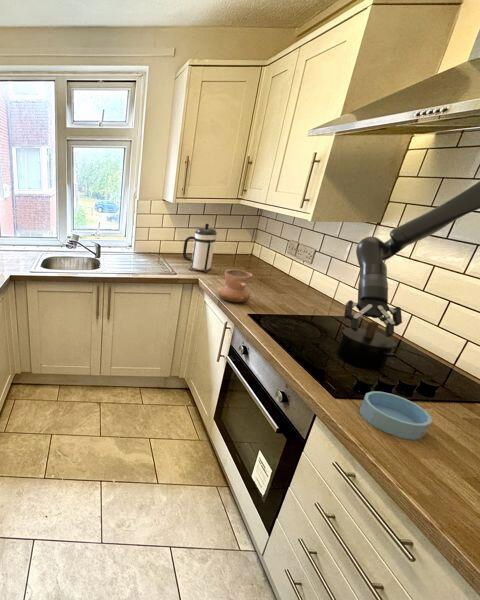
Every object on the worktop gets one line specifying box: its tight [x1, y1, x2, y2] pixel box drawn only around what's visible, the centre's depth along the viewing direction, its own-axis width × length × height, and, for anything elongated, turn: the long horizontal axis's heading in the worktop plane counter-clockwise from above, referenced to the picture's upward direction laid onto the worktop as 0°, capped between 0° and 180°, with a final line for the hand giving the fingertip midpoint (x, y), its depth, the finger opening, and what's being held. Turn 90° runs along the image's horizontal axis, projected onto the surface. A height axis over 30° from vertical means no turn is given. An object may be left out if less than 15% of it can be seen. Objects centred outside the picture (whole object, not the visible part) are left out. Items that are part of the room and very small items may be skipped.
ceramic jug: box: [218, 268, 253, 304], centre depth 157 cm, size 18×14×14 cm
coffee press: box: [182, 223, 219, 274], centre depth 201 cm, size 17×16×30 cm
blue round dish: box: [359, 390, 433, 441], centre depth 81 cm, size 12×12×4 cm
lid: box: [342, 321, 397, 349], centre depth 104 cm, size 14×14×6 cm
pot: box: [336, 327, 395, 371], centre depth 107 cm, size 12×18×8 cm
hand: (371, 333), depth 103 cm, fingers open, 8 cm apart
